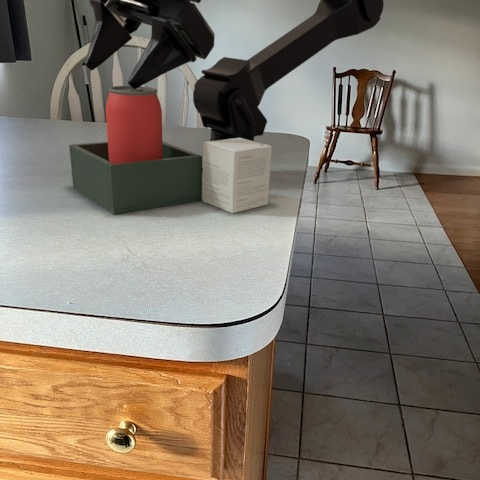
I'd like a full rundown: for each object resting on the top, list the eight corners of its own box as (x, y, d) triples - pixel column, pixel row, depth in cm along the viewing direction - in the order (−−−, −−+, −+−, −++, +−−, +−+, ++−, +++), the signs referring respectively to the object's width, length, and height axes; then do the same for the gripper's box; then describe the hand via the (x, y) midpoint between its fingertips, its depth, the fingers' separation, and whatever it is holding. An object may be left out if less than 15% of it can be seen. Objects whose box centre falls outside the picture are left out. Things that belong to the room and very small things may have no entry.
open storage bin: (201, 200, 68) (202, 156, 66) (113, 214, 62) (110, 165, 59) (155, 178, 77) (154, 137, 74) (73, 188, 70) (68, 144, 67)
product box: (237, 194, 72) (240, 136, 68) (269, 205, 68) (274, 145, 64) (200, 201, 68) (201, 141, 64) (232, 214, 64) (235, 150, 61)
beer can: (171, 187, 71) (170, 88, 65) (149, 200, 65) (146, 93, 60) (126, 181, 72) (121, 83, 67) (100, 193, 67) (93, 88, 61)
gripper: (94, -103, 62) (17, 10, 62) (198, -92, 52) (106, 43, 52) (151, -23, 72) (85, 75, 72) (249, 0, 61) (171, 114, 62)
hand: (108, 76), depth 64 cm, fingers open, 9 cm apart
